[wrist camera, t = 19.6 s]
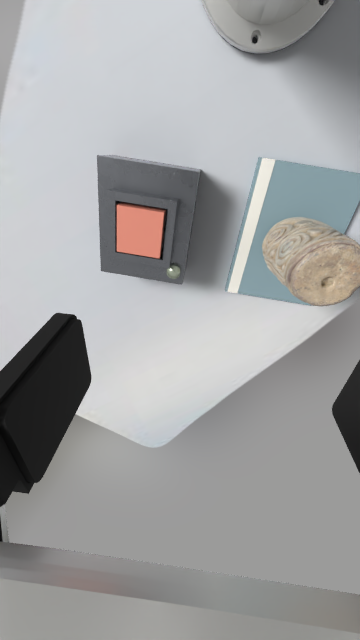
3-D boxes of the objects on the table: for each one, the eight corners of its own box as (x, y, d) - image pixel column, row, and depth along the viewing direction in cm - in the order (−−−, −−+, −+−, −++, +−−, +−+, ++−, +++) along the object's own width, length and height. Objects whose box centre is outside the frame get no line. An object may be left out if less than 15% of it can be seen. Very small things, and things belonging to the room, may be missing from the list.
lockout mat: (258, 157, 28) (259, 157, 28) (368, 175, 28) (372, 175, 27) (224, 289, 37) (225, 291, 36) (308, 303, 37) (310, 305, 36)
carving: (325, 255, 32) (377, 301, 22) (263, 271, 34) (285, 320, 24) (322, 202, 29) (381, 228, 19) (254, 223, 31) (276, 256, 21)
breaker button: (122, 201, 27) (116, 204, 25) (166, 209, 27) (163, 212, 25) (122, 245, 29) (116, 251, 28) (162, 252, 29) (159, 258, 27)
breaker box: (113, 155, 29) (89, 155, 23) (200, 169, 29) (198, 173, 23) (113, 257, 36) (94, 277, 30) (185, 269, 36) (180, 291, 30)
